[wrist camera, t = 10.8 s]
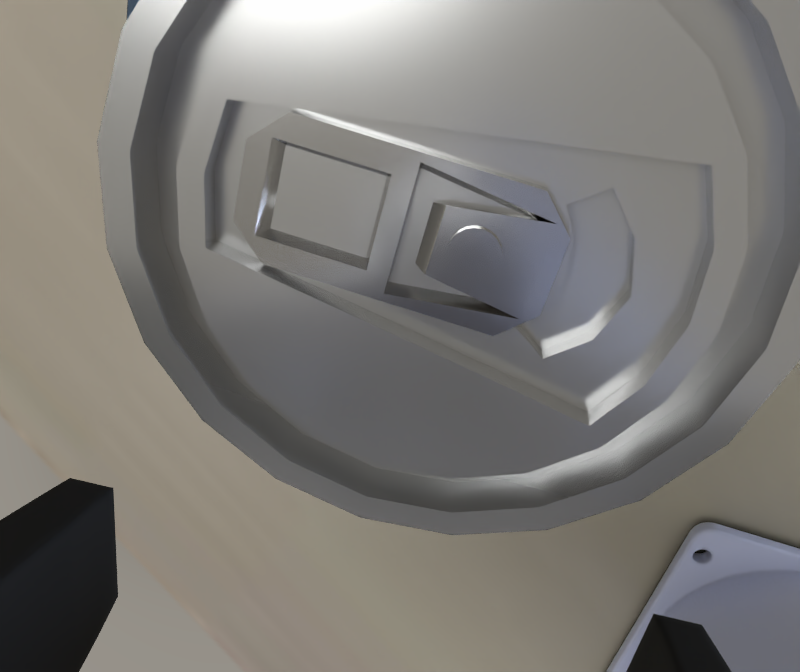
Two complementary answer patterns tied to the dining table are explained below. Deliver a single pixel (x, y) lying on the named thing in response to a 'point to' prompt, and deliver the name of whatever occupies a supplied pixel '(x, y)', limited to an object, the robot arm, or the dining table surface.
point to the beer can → (462, 240)
